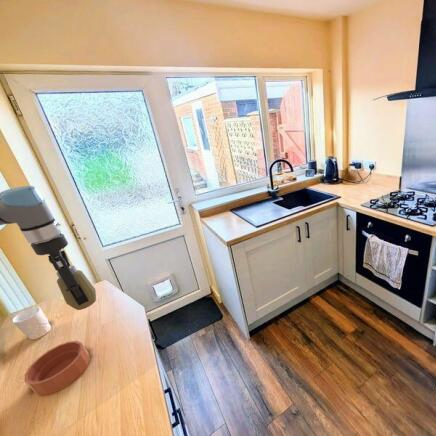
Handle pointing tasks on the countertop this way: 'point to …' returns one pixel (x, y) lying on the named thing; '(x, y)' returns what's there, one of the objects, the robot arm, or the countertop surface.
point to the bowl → (57, 368)
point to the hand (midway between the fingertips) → (81, 296)
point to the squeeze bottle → (84, 284)
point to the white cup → (32, 322)
